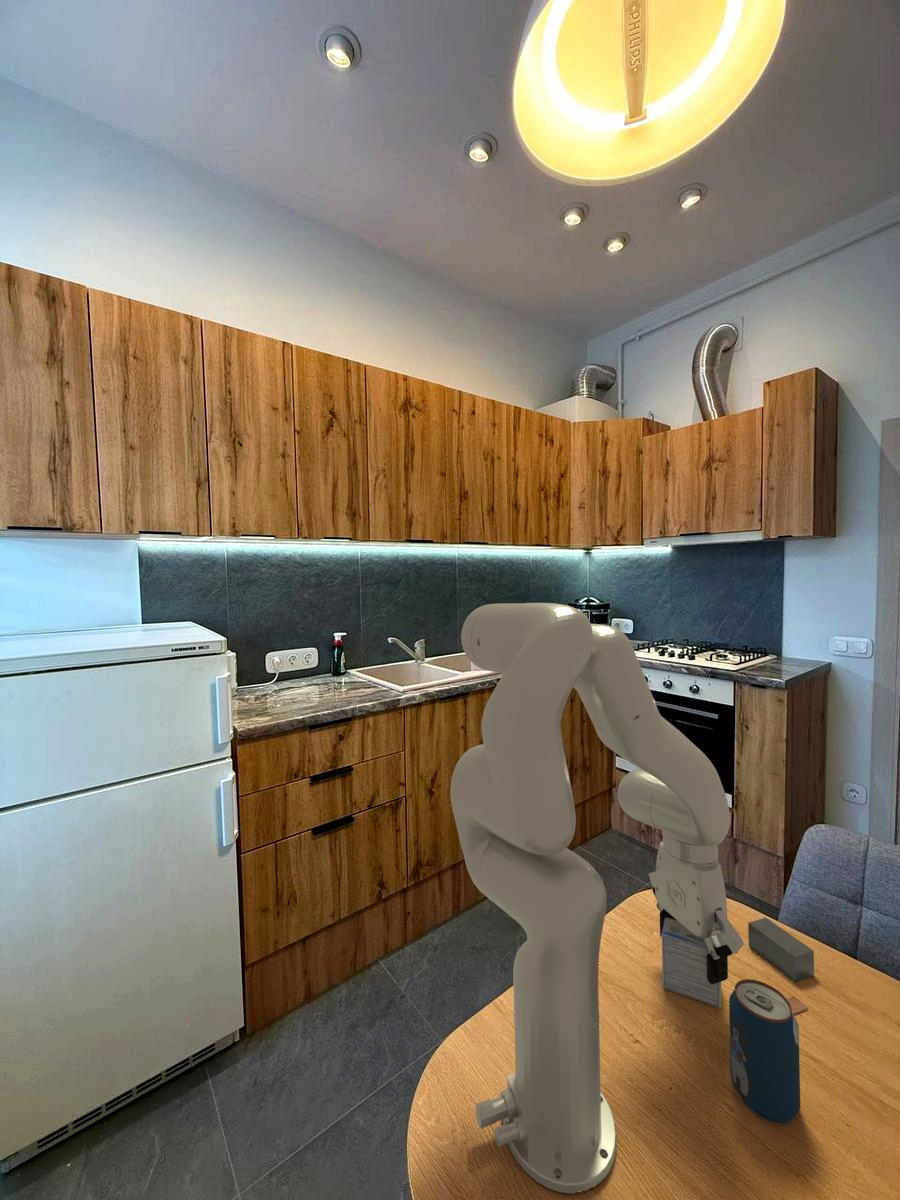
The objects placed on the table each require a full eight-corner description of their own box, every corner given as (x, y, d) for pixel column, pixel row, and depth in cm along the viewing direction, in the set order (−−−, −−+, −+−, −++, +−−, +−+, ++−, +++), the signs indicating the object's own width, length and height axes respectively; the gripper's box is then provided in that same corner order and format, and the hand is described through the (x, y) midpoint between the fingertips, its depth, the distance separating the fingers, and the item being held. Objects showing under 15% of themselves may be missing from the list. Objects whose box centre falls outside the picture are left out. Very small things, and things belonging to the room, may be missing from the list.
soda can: (808, 1102, 55) (806, 1001, 55) (789, 1146, 51) (787, 1036, 51) (743, 1057, 60) (741, 966, 60) (721, 1093, 56) (719, 995, 56)
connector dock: (766, 1025, 65) (765, 996, 65) (678, 944, 80) (678, 921, 80) (842, 996, 69) (841, 969, 69) (745, 925, 84) (745, 903, 84)
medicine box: (721, 988, 71) (720, 932, 71) (721, 1011, 67) (720, 951, 67) (665, 968, 75) (664, 915, 75) (662, 989, 71) (661, 932, 71)
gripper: (631, 822, 78) (633, 924, 78) (718, 882, 62) (720, 1011, 62) (667, 815, 80) (669, 915, 80) (760, 871, 64) (763, 996, 64)
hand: (691, 956), depth 71 cm, fingers closed on medicine box, 8 cm apart
